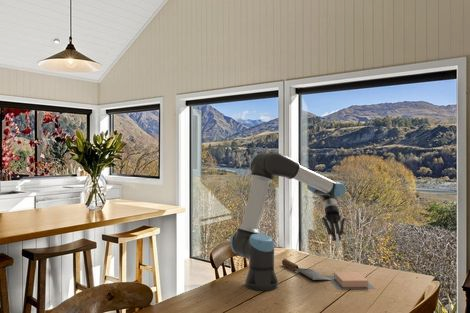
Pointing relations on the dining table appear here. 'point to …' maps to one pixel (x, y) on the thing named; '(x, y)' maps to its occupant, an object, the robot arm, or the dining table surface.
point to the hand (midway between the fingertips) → (338, 245)
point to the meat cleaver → (305, 271)
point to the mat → (346, 288)
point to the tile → (351, 279)
